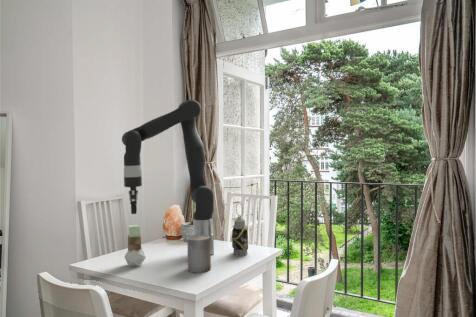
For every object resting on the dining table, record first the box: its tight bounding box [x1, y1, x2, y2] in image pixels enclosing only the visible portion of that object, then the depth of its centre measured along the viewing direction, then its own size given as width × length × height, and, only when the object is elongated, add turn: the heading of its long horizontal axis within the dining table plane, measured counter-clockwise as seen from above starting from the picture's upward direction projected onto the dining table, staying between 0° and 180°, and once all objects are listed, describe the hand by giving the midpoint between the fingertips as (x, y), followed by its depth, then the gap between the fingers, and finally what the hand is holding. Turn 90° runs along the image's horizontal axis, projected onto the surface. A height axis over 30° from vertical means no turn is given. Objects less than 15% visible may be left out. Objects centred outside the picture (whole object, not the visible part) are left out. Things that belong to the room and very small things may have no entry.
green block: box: [128, 224, 141, 237], centre depth 156 cm, size 4×4×4 cm
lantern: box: [231, 202, 249, 256], centre depth 171 cm, size 9×8×25 cm
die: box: [123, 246, 146, 268], centre depth 156 cm, size 8×9×10 cm
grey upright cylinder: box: [186, 234, 212, 274], centre depth 149 cm, size 10×10×15 cm
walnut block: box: [127, 233, 142, 251], centre depth 156 cm, size 6×6×6 cm
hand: (134, 212), depth 156 cm, fingers open, 8 cm apart
